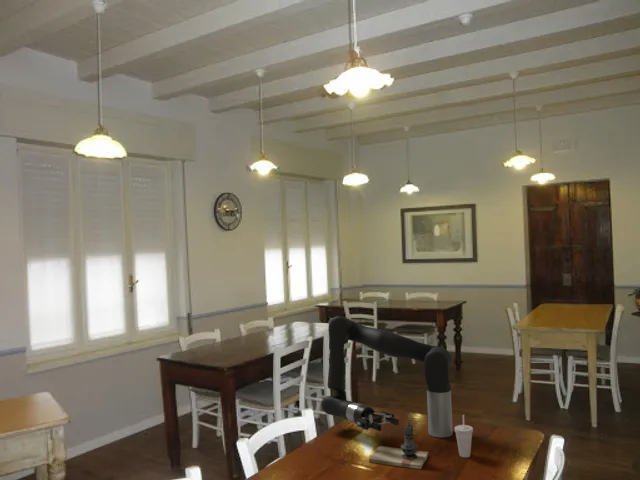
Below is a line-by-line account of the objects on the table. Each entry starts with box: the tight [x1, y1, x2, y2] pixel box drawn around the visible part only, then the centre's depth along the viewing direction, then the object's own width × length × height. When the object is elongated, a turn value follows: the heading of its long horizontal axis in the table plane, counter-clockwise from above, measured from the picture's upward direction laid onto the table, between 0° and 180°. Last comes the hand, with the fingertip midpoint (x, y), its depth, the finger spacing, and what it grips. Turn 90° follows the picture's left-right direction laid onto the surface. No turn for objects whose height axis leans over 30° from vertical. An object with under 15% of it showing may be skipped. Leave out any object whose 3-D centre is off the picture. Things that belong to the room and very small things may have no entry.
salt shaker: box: [400, 421, 418, 460], centre depth 188 cm, size 6×6×12 cm
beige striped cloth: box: [368, 445, 429, 470], centre depth 189 cm, size 12×18×1 cm, turn 66°
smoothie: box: [454, 414, 474, 458], centre depth 190 cm, size 6×6×14 cm
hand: (389, 425), depth 196 cm, fingers open, 8 cm apart
